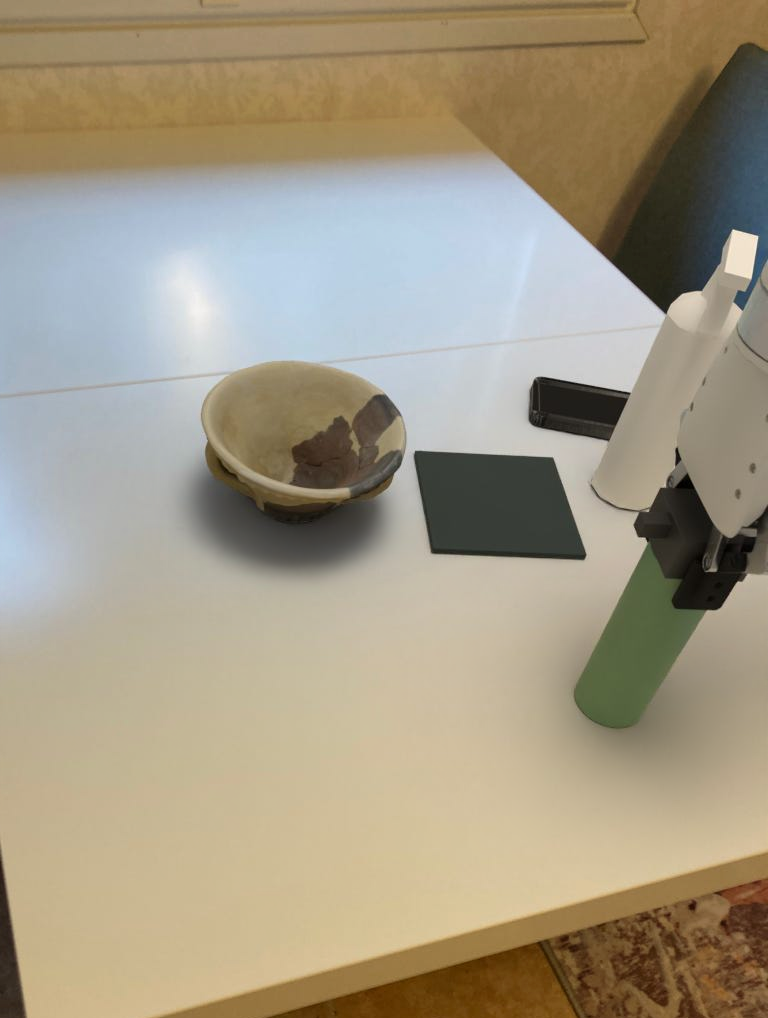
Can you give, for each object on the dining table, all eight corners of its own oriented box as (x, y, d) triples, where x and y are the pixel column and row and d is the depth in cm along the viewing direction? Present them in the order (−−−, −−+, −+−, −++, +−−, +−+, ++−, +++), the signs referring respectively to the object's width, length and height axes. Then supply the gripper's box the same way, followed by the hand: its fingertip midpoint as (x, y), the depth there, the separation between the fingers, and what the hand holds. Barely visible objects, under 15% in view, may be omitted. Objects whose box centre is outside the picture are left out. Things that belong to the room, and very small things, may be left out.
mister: (632, 674, 75) (737, 489, 61) (651, 729, 71) (768, 546, 57) (546, 671, 74) (632, 484, 60) (561, 726, 71) (656, 541, 56)
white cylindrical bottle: (669, 461, 95) (788, 215, 76) (653, 532, 87) (781, 278, 68) (604, 441, 96) (705, 195, 77) (582, 509, 88) (689, 255, 70)
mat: (551, 461, 93) (553, 457, 92) (584, 559, 84) (587, 554, 83) (413, 455, 92) (414, 450, 91) (432, 553, 83) (433, 548, 82)
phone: (533, 374, 101) (672, 399, 100) (530, 383, 102) (668, 408, 101) (531, 415, 96) (678, 442, 95) (528, 425, 97) (674, 451, 95)
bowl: (180, 554, 80) (180, 465, 73) (219, 430, 92) (222, 344, 85) (383, 586, 79) (402, 500, 72) (396, 457, 91) (413, 372, 84)
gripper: (966, 430, 44) (780, 673, 57) (818, 254, 55) (693, 492, 68) (813, 422, 43) (662, 670, 57) (696, 246, 54) (594, 488, 68)
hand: (680, 570), depth 62 cm, fingers closed on mister, 5 cm apart
